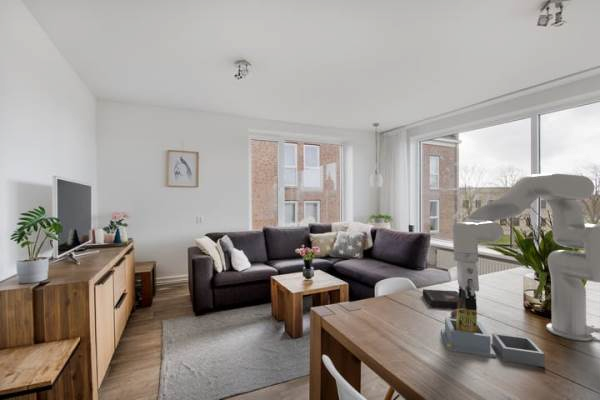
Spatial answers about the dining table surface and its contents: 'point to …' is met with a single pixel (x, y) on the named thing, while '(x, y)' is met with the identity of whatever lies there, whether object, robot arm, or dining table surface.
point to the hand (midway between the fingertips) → (467, 304)
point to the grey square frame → (518, 349)
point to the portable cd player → (441, 298)
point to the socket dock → (467, 339)
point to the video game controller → (454, 313)
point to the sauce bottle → (465, 316)
